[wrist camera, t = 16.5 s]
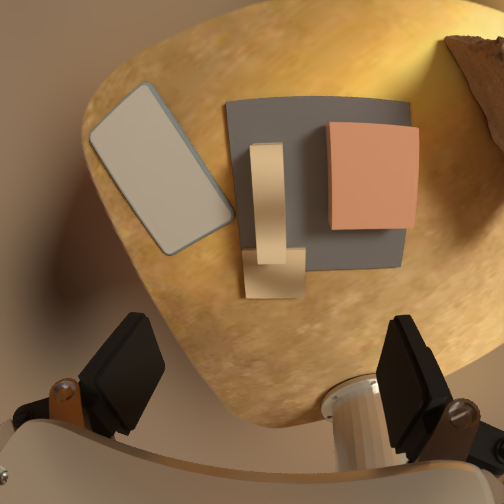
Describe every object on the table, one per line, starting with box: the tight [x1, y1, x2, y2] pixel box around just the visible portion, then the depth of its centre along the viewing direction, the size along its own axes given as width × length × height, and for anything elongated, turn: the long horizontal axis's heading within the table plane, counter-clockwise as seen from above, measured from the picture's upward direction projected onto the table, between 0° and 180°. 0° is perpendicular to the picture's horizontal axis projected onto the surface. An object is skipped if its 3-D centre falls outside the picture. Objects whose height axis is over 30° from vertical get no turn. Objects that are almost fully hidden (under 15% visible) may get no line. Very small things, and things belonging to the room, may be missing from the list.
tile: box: [325, 122, 419, 230], centre depth 19 cm, size 2×7×8 cm
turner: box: [242, 142, 306, 298], centre depth 22 cm, size 14×6×3 cm, turn 4°
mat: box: [226, 96, 411, 271], centre depth 21 cm, size 15×15×1 cm
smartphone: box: [89, 82, 235, 255], centre depth 23 cm, size 8×1×15 cm
